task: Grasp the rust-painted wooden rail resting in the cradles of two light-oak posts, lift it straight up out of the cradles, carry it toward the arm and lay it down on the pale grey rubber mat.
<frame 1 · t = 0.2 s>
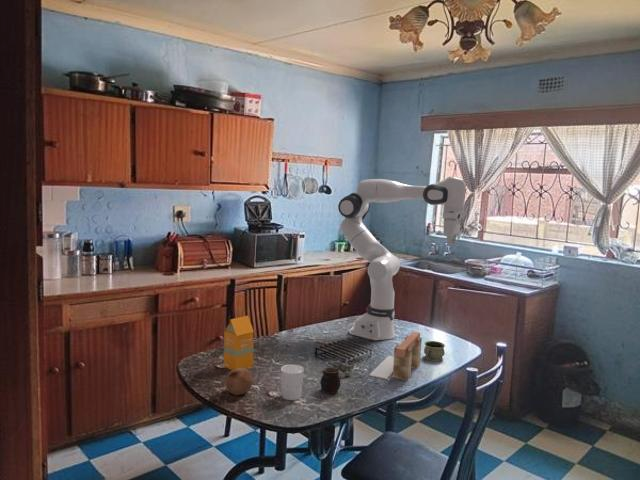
hand: (451, 244, 229), 48 cm above the table, tool pointing down, fingers open, 8 cm apart
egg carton: (338, 373, 201), on the table
rail: (408, 347, 203), point 10 cm above the table, touching post far, post near
onion: (239, 393, 179), on the table
vessel: (433, 358, 221), on the table
post far: (411, 365, 211), on the table
orange juice: (238, 366, 203), on the table
mat: (387, 367, 208), on the table
mate gourd: (330, 391, 184), on the table
white cup: (291, 396, 178), on the table
post near: (401, 377, 198), on the table
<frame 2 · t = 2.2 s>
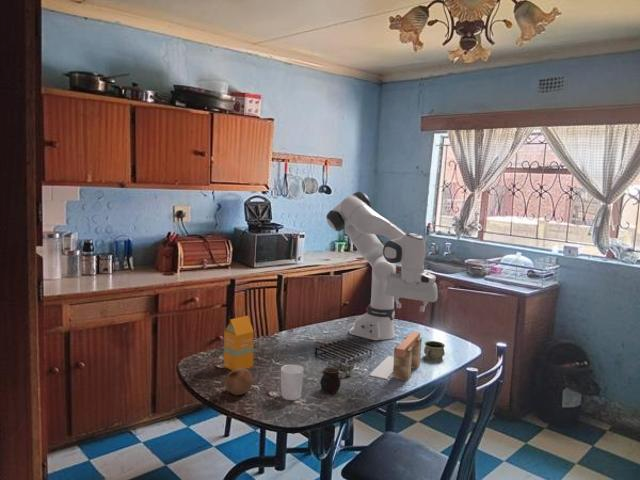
hand: (410, 309, 201), 25 cm above the table, tool pointing down, fingers open, 8 cm apart
nothing on the table moved.
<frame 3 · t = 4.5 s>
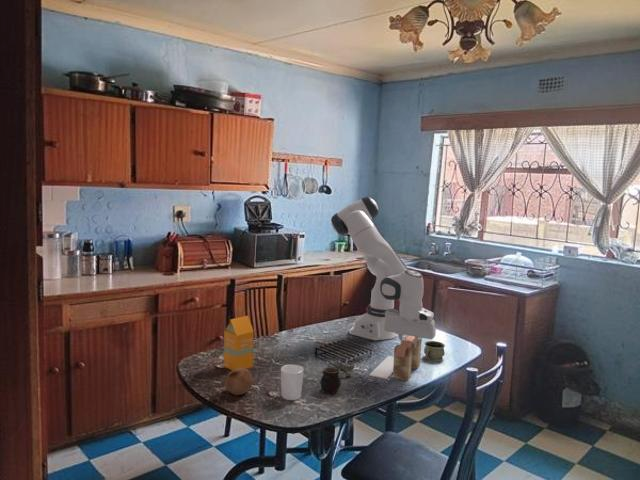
hand: (408, 345, 203), 11 cm above the table, tool pointing down, fingers closed on rail, 3 cm apart
rail: (408, 347, 203), point 10 cm above the table, touching gripper, post far, post near
everything else where it was.
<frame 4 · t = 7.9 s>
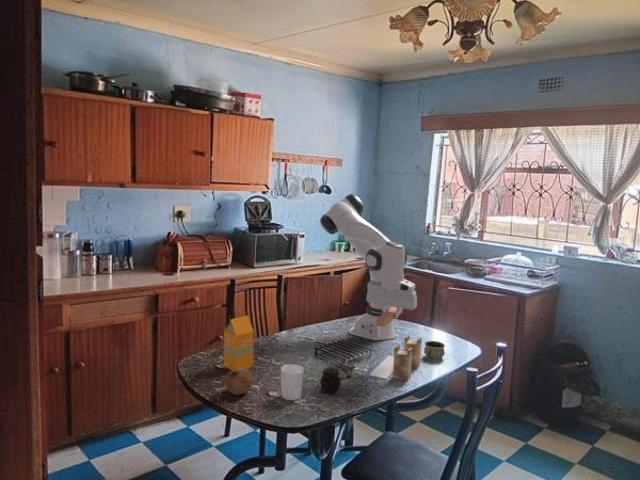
hand: (390, 316, 205), 21 cm above the table, tool pointing down, fingers closed on rail, 3 cm apart
rail: (390, 318, 205), point 21 cm above the table, touching gripper
everything else where it was.
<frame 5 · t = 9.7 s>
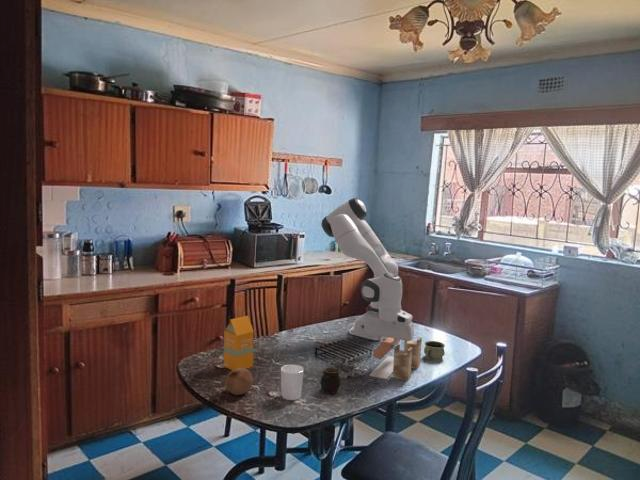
hand: (387, 347, 207), 9 cm above the table, tool pointing down, fingers closed on rail, 3 cm apart
rail: (387, 348, 207), point 8 cm above the table, touching gripper
everything else where it was.
when the fingers open (3 cm above the table, at t = 11.3 s): rail drops 2 cm, resting on mat.
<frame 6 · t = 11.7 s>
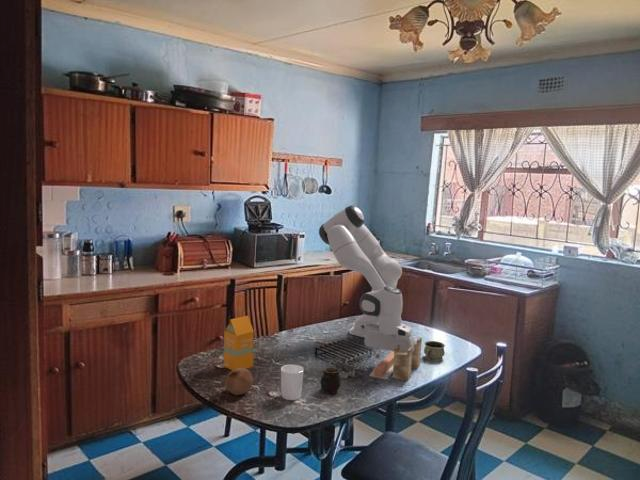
hand: (387, 360, 207), 3 cm above the table, tool pointing down, fingers open, 7 cm apart
rail: (387, 366, 208), resting on mat
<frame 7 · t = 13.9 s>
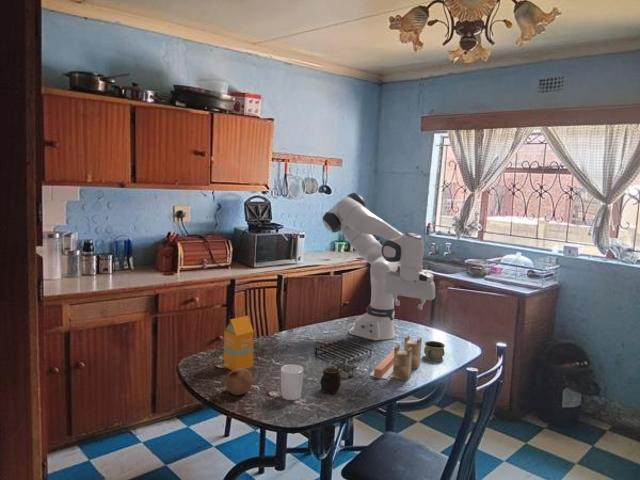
hand: (408, 307, 206), 25 cm above the table, tool pointing down, fingers open, 8 cm apart
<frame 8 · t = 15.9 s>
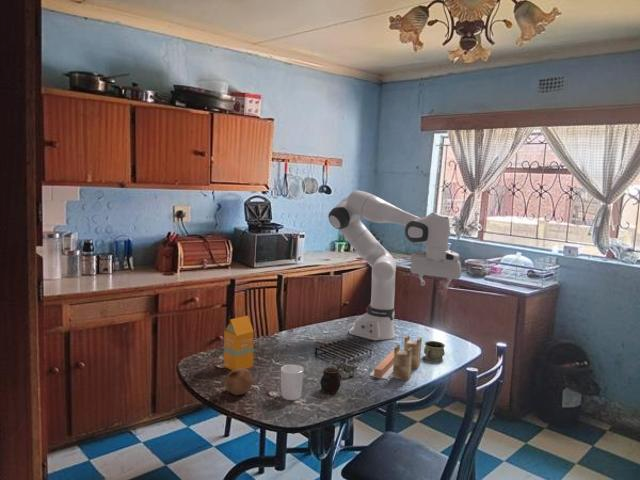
hand: (434, 286, 208), 33 cm above the table, tool pointing down, fingers open, 8 cm apart
at the end: rail inside the target area (0.1 cm from its centre), resting on mat; rail touching mat; the gripper is holding nothing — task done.
